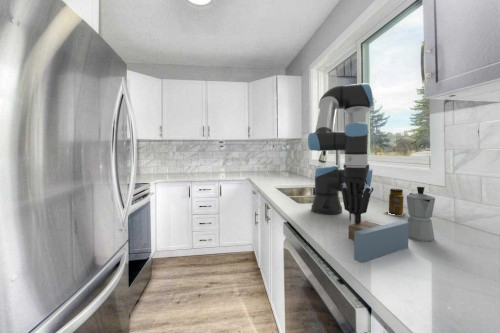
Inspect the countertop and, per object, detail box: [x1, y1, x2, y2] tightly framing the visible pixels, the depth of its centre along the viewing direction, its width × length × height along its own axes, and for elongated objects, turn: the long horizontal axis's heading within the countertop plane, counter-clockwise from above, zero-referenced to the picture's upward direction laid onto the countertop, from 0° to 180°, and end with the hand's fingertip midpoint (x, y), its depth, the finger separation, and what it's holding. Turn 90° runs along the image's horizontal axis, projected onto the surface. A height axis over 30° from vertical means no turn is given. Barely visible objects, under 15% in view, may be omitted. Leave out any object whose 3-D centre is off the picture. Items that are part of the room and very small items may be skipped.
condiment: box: [383, 188, 407, 217], centre depth 119 cm, size 7×8×12 cm
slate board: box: [353, 220, 409, 263], centre depth 74 cm, size 22×2×8 cm, turn 118°
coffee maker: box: [406, 186, 436, 243], centre depth 87 cm, size 15×9×18 cm, turn 168°
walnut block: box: [347, 220, 382, 242], centre depth 85 cm, size 10×8×5 cm
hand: (354, 231), depth 89 cm, fingers closed
